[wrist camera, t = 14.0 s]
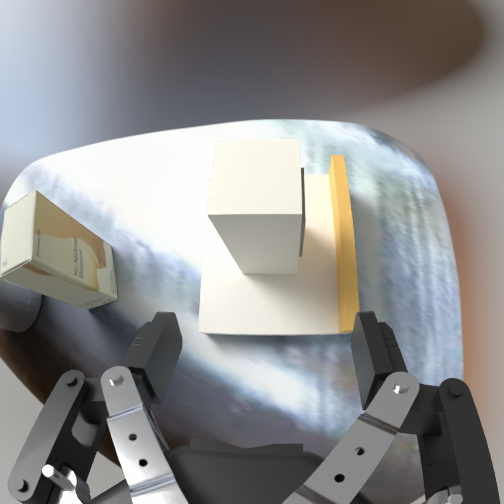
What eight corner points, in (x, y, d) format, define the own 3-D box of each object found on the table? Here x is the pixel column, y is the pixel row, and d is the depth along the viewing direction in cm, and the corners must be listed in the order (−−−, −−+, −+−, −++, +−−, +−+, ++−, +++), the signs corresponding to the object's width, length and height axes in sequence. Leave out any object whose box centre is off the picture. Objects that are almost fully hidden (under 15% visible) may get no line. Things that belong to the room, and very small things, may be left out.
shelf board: (205, 333, 25) (186, 329, 20) (214, 189, 30) (201, 160, 25) (346, 333, 24) (359, 329, 19) (336, 185, 28) (343, 155, 23)
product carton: (242, 273, 24) (207, 214, 14) (245, 223, 26) (217, 141, 15) (300, 274, 24) (307, 214, 13) (300, 223, 25) (304, 139, 15)
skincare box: (120, 299, 27) (32, 264, 16) (87, 311, 27) (-3, 282, 16) (111, 241, 29) (36, 186, 18) (80, 254, 29) (3, 208, 18)
